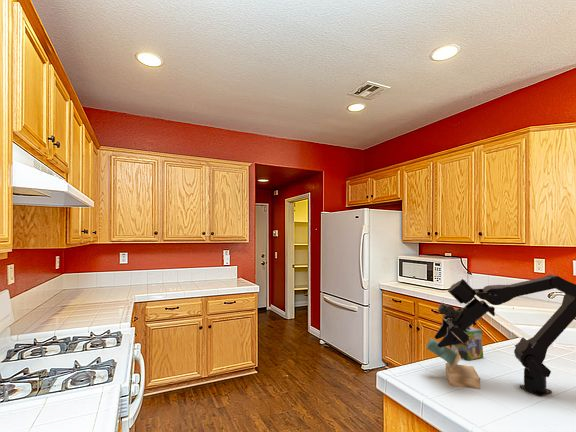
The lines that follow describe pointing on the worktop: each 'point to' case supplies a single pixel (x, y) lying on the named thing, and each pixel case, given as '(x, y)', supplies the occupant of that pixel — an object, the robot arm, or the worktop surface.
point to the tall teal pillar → (444, 353)
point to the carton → (463, 376)
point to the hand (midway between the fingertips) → (436, 342)
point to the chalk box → (470, 345)
